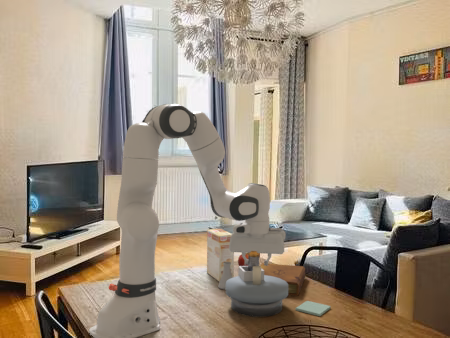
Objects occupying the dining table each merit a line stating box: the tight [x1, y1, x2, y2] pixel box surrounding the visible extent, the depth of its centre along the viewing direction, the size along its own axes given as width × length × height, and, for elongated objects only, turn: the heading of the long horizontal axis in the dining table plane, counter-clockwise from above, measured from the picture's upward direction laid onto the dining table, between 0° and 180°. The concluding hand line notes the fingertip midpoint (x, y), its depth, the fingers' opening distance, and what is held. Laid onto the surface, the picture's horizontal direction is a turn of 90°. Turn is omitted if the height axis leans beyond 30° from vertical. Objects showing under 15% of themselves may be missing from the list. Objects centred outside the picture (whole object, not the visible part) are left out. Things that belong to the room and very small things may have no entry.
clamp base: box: [230, 298, 283, 318], centre depth 156 cm, size 18×18×5 cm
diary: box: [260, 262, 306, 297], centre depth 181 cm, size 23×19×6 cm
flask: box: [217, 262, 232, 291], centre depth 177 cm, size 7×7×10 cm
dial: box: [225, 265, 289, 303], centre depth 156 cm, size 22×22×9 cm
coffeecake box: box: [206, 228, 235, 283], centre depth 191 cm, size 15×7×20 cm, turn 23°
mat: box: [295, 300, 331, 317], centre depth 154 cm, size 9×9×1 cm
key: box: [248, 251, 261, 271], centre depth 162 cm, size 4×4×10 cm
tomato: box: [237, 253, 248, 266], centre depth 202 cm, size 9×9×8 cm
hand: (256, 264), depth 162 cm, fingers open, 6 cm apart
